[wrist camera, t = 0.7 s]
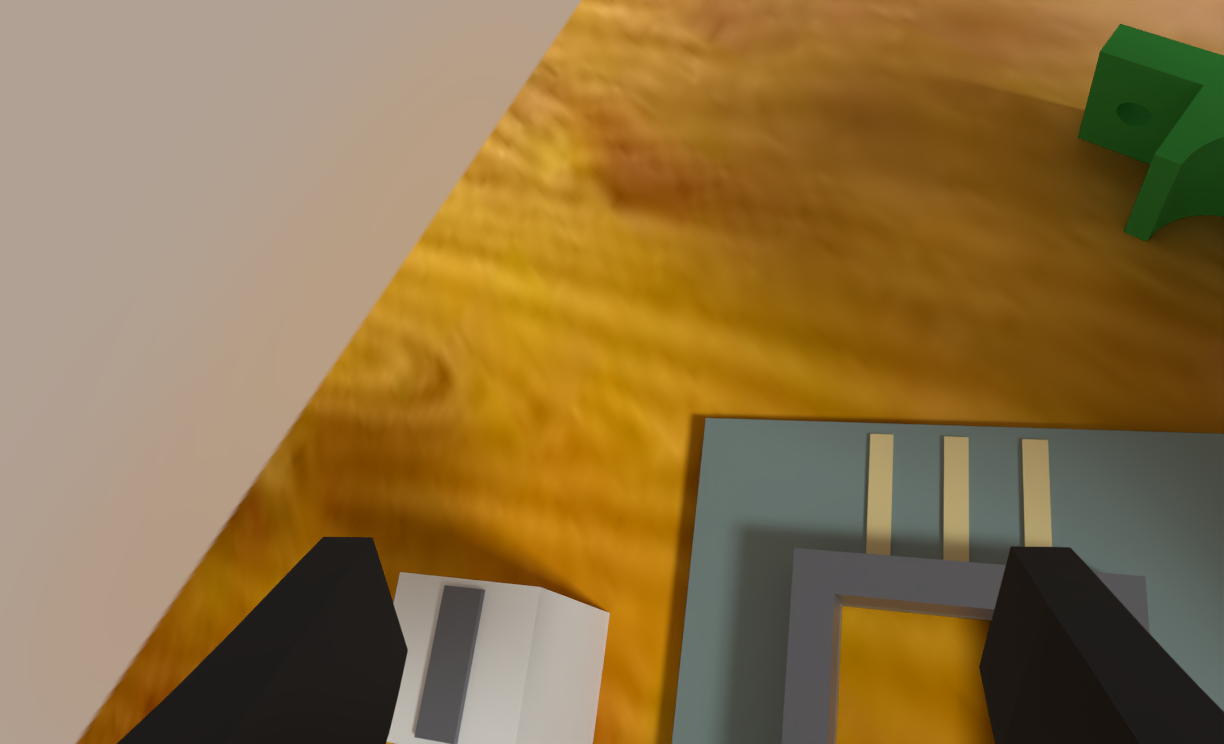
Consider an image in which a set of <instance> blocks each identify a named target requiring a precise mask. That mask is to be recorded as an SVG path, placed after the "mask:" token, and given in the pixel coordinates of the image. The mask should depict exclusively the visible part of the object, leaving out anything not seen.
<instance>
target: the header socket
mask: <svg viewBox="0 0 1224 744" xmlns="http://www.w3.org/2000/svg"><path fill="white" fill-rule="evenodd" d="M1011 546H1020V547H1070V548H1071V549H1072V550H1073V551H1074V552H1075V553H1076V554H1077V555H1078V556H1079V557H1080V558H1081V559H1082V560H1083V561H1084V562H1085V563H1086V564H1087V565H1088V566H1089V568H1090V569H1091V570H1092V571H1093V572H1094V573H1095V574H1096V575H1097V576H1098V577H1099V579H1100V580H1101V581H1102V582H1103V583H1104V584H1105V585H1106V586H1107V587H1108V588H1109V590H1110V591H1111V592H1112V593H1113V594H1114V595H1115V596H1116V597H1117V598H1118V599H1119V601H1120V602H1121V603H1122V604H1123V605H1124V606H1125V607H1126V608H1127V609H1128V610H1129V612H1130V613H1131V614H1132V615H1133V616H1134V617H1135V618H1136V619H1137V620H1138V621H1139V623H1140V624H1141V625H1142V626H1143V627H1144V628H1145V629H1146V630H1147V631H1148V632H1149V633H1150V634H1151V636H1152V637H1153V638H1154V639H1155V640H1156V641H1157V642H1158V643H1159V644H1160V645H1161V646H1162V647H1163V648H1164V650H1165V651H1166V652H1167V653H1168V654H1169V655H1170V656H1171V657H1172V658H1173V659H1174V660H1175V661H1176V662H1177V664H1178V665H1179V666H1180V667H1181V668H1182V669H1183V670H1184V671H1185V672H1186V673H1187V674H1188V675H1189V676H1190V677H1191V678H1192V679H1193V680H1194V681H1195V683H1196V684H1197V685H1198V686H1199V687H1200V688H1201V689H1202V690H1203V691H1204V692H1205V693H1206V694H1207V695H1208V696H1209V697H1210V698H1211V699H1212V700H1213V701H1214V702H1215V703H1216V704H1217V705H1218V706H1219V707H1220V708H1221V709H1222V710H1223V711H1224V434H1215V433H1182V432H1150V431H1117V430H1084V429H1051V428H1019V427H986V426H953V425H921V424H888V423H855V422H822V421H790V420H757V419H724V418H706V420H705V430H704V439H703V449H702V459H701V468H700V478H699V487H698V497H697V507H696V516H695V526H694V536H693V545H692V555H691V564H690V574H689V584H688V593H687V603H686V612H685V622H684V632H683V641H682V651H681V661H680V670H679V680H678V689H677V699H676V709H675V718H674V728H673V737H672V744H836V731H837V708H838V686H839V663H840V641H841V618H842V606H850V607H859V608H869V609H879V610H889V611H899V612H909V613H919V614H929V615H939V616H948V617H958V618H968V619H978V620H988V621H991V620H992V617H993V613H994V609H995V605H996V601H997V597H998V594H999V590H1000V586H1001V582H1002V578H1003V574H1004V571H1005V567H1006V563H1007V559H1008V555H1009V551H1010V548H1011Z"/></svg>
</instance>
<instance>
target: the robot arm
mask: <svg viewBox="0 0 1224 744" xmlns="http://www.w3.org/2000/svg"><path fill="white" fill-rule="evenodd" d="M407 653H408V649H407V645H406V642H405V639H404V636H403V633H402V630H401V626H400V623H399V620H398V617H397V614H396V610H395V607H394V604H393V601H392V598H391V595H390V591H389V588H388V585H387V582H386V579H385V575H384V572H383V569H382V566H381V563H380V560H379V556H378V553H377V550H376V547H375V544H374V541H373V538H364V537H323V538H322V539H321V540H320V541H319V542H318V543H317V544H316V545H315V546H314V547H313V548H312V549H311V550H310V551H309V552H308V553H307V554H306V555H305V556H304V557H303V558H302V559H301V560H300V561H299V562H298V563H297V564H296V565H295V566H294V567H293V569H292V570H291V571H290V572H289V573H288V574H287V575H286V576H285V577H284V578H283V579H282V580H281V581H280V582H279V583H278V584H277V585H276V586H275V587H274V588H273V589H272V590H271V591H270V592H269V594H268V595H267V596H266V597H265V598H264V599H263V600H262V601H261V602H260V603H259V604H258V605H257V606H256V607H255V608H254V609H253V610H252V611H251V612H250V613H249V614H248V615H247V616H246V617H245V619H244V620H243V621H242V622H241V623H240V624H239V625H238V626H237V627H236V628H235V629H234V630H233V631H232V632H231V633H230V634H229V635H228V636H227V637H226V638H225V639H224V640H223V641H222V642H221V643H220V644H219V645H218V646H217V647H216V648H215V649H214V650H213V651H212V652H211V653H210V654H209V655H208V656H207V657H206V658H205V659H204V660H203V661H202V662H201V663H200V664H199V665H198V666H197V667H196V668H195V669H194V670H193V671H192V672H191V673H190V674H189V675H188V676H187V677H186V678H185V679H184V680H183V681H182V682H181V683H180V684H179V685H178V686H177V687H176V688H175V689H174V690H173V691H172V692H171V693H170V694H169V695H168V696H167V697H166V698H165V699H164V700H163V701H162V702H161V703H160V704H159V705H158V706H157V707H156V708H155V709H154V710H152V711H151V712H150V713H149V714H148V715H147V716H146V717H145V718H144V719H143V720H142V721H141V722H140V723H139V724H137V725H136V726H135V727H134V728H133V729H132V730H131V731H130V732H129V733H128V734H127V735H126V736H125V737H124V738H123V739H121V740H120V741H119V742H118V743H117V744H386V741H387V738H388V735H389V732H390V728H391V724H392V719H393V715H394V711H395V707H396V703H397V699H398V695H399V690H400V685H401V681H402V676H403V671H404V667H405V662H406V657H407ZM979 667H980V672H981V677H982V682H983V687H984V692H985V697H986V702H987V707H988V712H989V717H990V722H991V726H992V731H993V735H994V740H995V744H1224V711H1223V710H1222V709H1221V708H1220V707H1219V706H1218V705H1217V704H1216V703H1215V702H1214V701H1213V700H1212V699H1211V698H1210V697H1209V696H1208V695H1207V694H1206V693H1205V692H1204V691H1203V690H1202V689H1201V688H1200V687H1199V686H1198V685H1197V684H1196V683H1195V681H1194V680H1193V679H1192V678H1191V677H1190V676H1189V675H1188V674H1187V673H1186V672H1185V671H1184V670H1183V669H1182V668H1181V667H1180V666H1179V665H1178V664H1177V662H1176V661H1175V660H1174V659H1173V658H1172V657H1171V656H1170V655H1169V654H1168V653H1167V652H1166V651H1165V650H1164V648H1163V647H1162V646H1161V645H1160V644H1159V643H1158V642H1157V641H1156V640H1155V639H1154V638H1153V637H1152V636H1151V634H1150V633H1149V632H1148V631H1147V630H1146V629H1145V628H1144V627H1143V626H1142V625H1141V624H1140V623H1139V621H1138V620H1137V619H1136V618H1135V617H1134V616H1133V615H1132V614H1131V613H1130V612H1129V610H1128V609H1127V608H1126V607H1125V606H1124V605H1123V604H1122V603H1121V602H1120V601H1119V599H1118V598H1117V597H1116V596H1115V595H1114V594H1113V593H1112V592H1111V591H1110V590H1109V588H1108V587H1107V586H1106V585H1105V584H1104V583H1103V582H1102V581H1101V580H1100V579H1099V577H1098V576H1097V575H1096V574H1095V573H1094V572H1093V571H1092V570H1091V569H1090V568H1089V566H1088V565H1087V564H1086V563H1085V562H1084V561H1083V560H1082V559H1081V558H1080V557H1079V556H1078V555H1077V554H1076V553H1075V552H1074V551H1073V550H1072V549H1071V548H1070V547H1020V546H1011V548H1010V551H1009V555H1008V559H1007V563H1006V567H1005V571H1004V574H1003V578H1002V582H1001V586H1000V590H999V594H998V597H997V601H996V605H995V609H994V613H993V617H992V620H991V624H990V628H989V632H988V636H987V640H986V643H985V647H984V651H983V655H982V659H981V663H980V666H979Z"/></svg>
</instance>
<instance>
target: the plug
mask: <svg viewBox="0 0 1224 744" xmlns="http://www.w3.org/2000/svg"><path fill="white" fill-rule="evenodd" d="M393 604H394V607H395V610H396V614H397V617H398V620H399V623H400V626H401V630H402V633H403V636H404V639H405V642H406V645H407V649H408V653H407V657H406V662H405V667H404V671H403V676H402V681H401V685H400V690H399V695H398V699H397V703H396V707H395V711H394V715H393V719H392V724H391V728H390V732H389V735H388V738H387V741H386V742H391V743H396V744H593V736H594V729H595V721H596V714H597V706H598V699H599V691H600V684H601V676H602V669H603V661H604V654H605V646H606V639H607V631H608V623H609V616H610V613H608V612H606V611H603V610H600V609H598V608H595V607H592V606H590V605H587V604H584V603H582V602H579V601H576V600H574V599H571V598H568V597H566V596H563V595H560V594H558V593H555V592H553V591H550V590H547V589H545V588H542V587H536V586H527V585H517V584H508V583H499V582H489V581H480V580H470V579H461V578H452V577H442V576H433V575H423V574H414V573H404V572H400V575H399V580H398V584H397V589H396V594H395V598H394V603H393Z"/></svg>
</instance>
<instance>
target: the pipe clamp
mask: <svg viewBox="0 0 1224 744" xmlns="http://www.w3.org/2000/svg"><path fill="white" fill-rule="evenodd" d="M1078 138H1081V139H1083V140H1086V141H1089V142H1091V143H1094V144H1097V145H1099V146H1102V147H1104V148H1107V149H1110V150H1112V151H1115V152H1118V153H1120V154H1123V155H1126V156H1128V157H1131V158H1133V159H1136V160H1139V161H1141V162H1144V163H1147V164H1149V165H1150V167H1149V169H1148V172H1147V174H1146V177H1145V179H1144V182H1143V184H1142V187H1141V189H1140V192H1139V194H1138V197H1137V199H1136V202H1135V204H1134V207H1133V209H1132V212H1131V214H1130V217H1129V220H1128V222H1127V225H1126V227H1125V230H1124V232H1125V233H1128V234H1130V235H1132V236H1135V237H1137V238H1140V239H1142V240H1144V241H1148V239H1149V238H1150V237H1151V236H1152V235H1153V234H1154V233H1155V232H1156V231H1158V230H1159V229H1160V228H1162V227H1163V226H1165V225H1167V224H1169V223H1171V222H1173V221H1176V220H1178V219H1182V218H1186V217H1190V216H1198V215H1214V216H1222V217H1224V56H1223V55H1220V54H1217V53H1213V52H1210V51H1207V50H1204V49H1200V48H1197V47H1194V46H1191V45H1187V44H1184V43H1181V42H1178V41H1175V40H1171V39H1168V38H1165V37H1162V36H1158V35H1155V34H1152V33H1149V32H1145V31H1142V30H1139V29H1136V28H1132V27H1129V26H1126V25H1123V24H1120V25H1119V26H1118V28H1117V29H1116V31H1115V32H1114V33H1113V35H1112V36H1111V37H1110V39H1109V40H1108V41H1107V43H1106V44H1105V46H1104V47H1103V48H1102V50H1101V51H1100V54H1099V58H1098V62H1097V66H1096V70H1095V74H1094V77H1093V81H1092V85H1091V89H1090V93H1089V97H1088V101H1087V105H1086V108H1085V112H1084V116H1083V120H1082V124H1081V128H1080V132H1079V136H1078Z"/></svg>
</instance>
